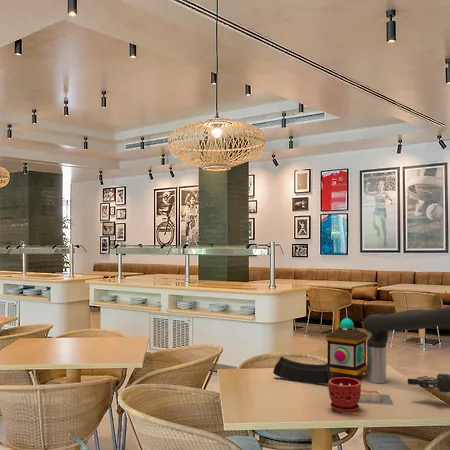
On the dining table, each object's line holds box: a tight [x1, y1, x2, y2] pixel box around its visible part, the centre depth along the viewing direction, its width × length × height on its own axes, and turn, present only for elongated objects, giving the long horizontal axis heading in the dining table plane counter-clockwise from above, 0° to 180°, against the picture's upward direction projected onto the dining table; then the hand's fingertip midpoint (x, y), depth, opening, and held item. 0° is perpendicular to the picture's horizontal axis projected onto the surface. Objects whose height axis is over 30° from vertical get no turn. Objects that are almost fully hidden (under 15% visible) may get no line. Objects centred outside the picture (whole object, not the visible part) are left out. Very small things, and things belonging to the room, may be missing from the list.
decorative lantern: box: [325, 317, 369, 380], centre depth 282 cm, size 20×20×30 cm
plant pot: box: [327, 376, 362, 414], centre depth 225 cm, size 13×13×12 cm
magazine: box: [272, 356, 333, 385], centre depth 269 cm, size 17×3×30 cm
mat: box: [358, 394, 394, 406], centre depth 240 cm, size 15×22×1 cm
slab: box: [359, 389, 382, 402], centre depth 239 cm, size 6×3×18 cm
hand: (407, 381), depth 237 cm, fingers closed
